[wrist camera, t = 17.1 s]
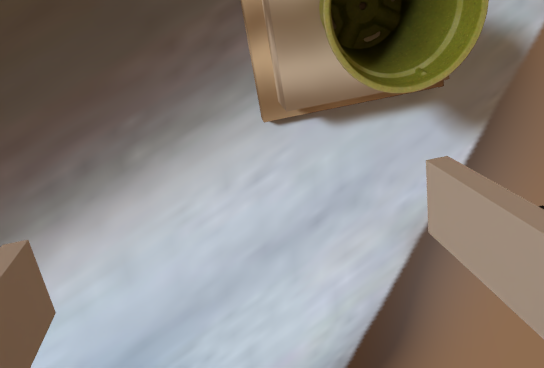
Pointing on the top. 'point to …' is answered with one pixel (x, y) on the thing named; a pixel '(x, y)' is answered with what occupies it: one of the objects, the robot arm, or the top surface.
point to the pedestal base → (299, 61)
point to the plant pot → (402, 39)
